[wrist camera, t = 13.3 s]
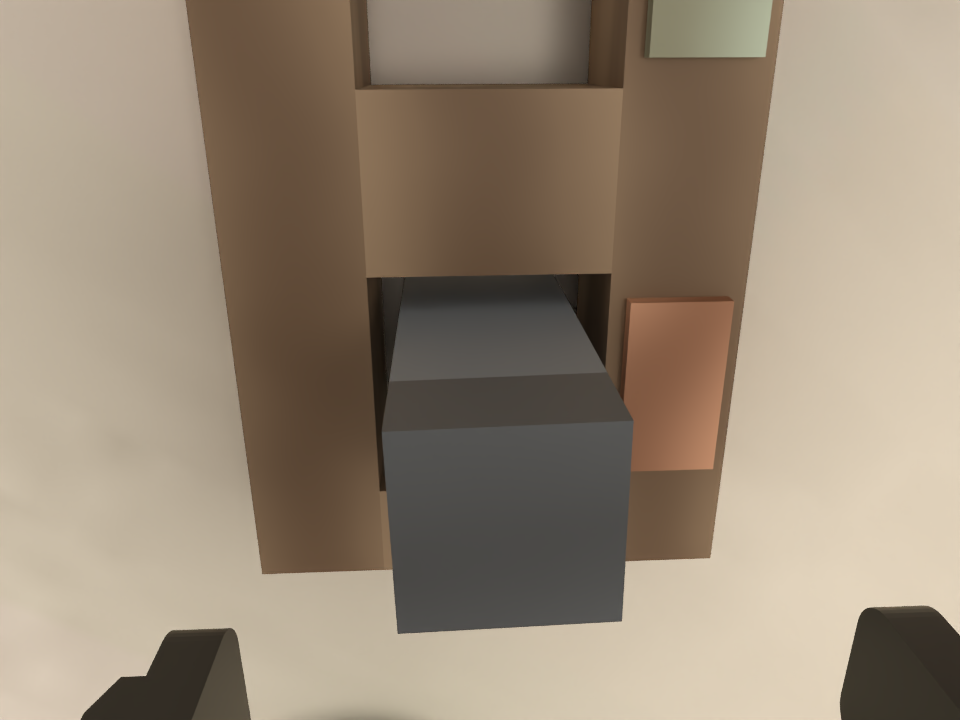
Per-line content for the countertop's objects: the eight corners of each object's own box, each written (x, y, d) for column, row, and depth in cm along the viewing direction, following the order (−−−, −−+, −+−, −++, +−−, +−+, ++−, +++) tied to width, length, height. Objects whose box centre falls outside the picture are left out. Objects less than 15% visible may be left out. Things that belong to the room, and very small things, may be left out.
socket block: (748, -301, 17) (849, -419, 13) (667, 481, 24) (715, 567, 20) (200, -312, 16) (119, -439, 12) (290, 493, 23) (258, 583, 19)
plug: (547, 263, 21) (633, 420, 12) (546, 392, 23) (621, 621, 13) (405, 268, 21) (381, 431, 12) (414, 398, 23) (398, 633, 13)
